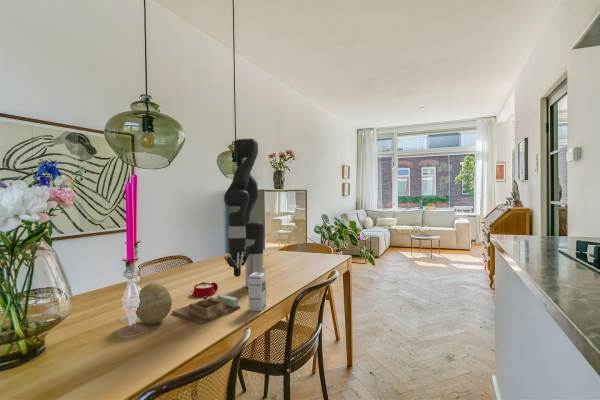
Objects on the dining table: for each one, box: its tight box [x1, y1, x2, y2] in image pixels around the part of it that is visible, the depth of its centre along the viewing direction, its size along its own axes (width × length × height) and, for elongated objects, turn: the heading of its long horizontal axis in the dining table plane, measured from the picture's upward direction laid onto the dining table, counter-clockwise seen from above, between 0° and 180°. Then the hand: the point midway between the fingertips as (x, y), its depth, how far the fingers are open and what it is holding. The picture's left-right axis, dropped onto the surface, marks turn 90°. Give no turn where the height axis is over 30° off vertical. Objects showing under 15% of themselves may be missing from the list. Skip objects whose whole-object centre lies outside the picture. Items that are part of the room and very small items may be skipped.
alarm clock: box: [191, 281, 219, 298], centre depth 161 cm, size 10×6×15 cm
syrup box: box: [247, 272, 267, 312], centre depth 139 cm, size 6×6×14 cm
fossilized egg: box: [135, 281, 173, 325], centre depth 124 cm, size 13×13×15 cm
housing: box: [171, 296, 241, 325], centre depth 136 cm, size 20×18×5 cm
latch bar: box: [216, 294, 239, 307], centre depth 140 cm, size 2×10×3 cm, turn 55°
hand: (237, 276), depth 144 cm, fingers closed
